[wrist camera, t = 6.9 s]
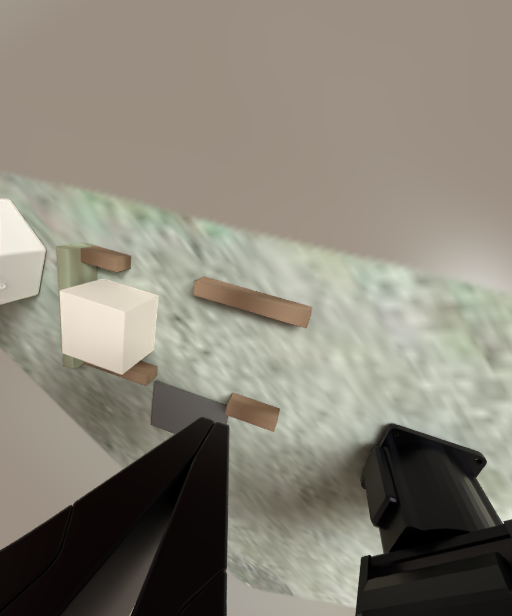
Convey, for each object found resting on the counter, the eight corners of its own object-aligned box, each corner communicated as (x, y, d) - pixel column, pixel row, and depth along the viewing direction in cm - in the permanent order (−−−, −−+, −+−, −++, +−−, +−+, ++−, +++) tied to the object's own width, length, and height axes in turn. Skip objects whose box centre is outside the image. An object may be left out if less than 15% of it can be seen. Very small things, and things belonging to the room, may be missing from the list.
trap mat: (230, 406, 23) (229, 408, 22) (220, 449, 24) (219, 451, 24) (156, 380, 24) (154, 382, 23) (152, 423, 25) (150, 424, 25)
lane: (312, 307, 18) (310, 320, 16) (276, 418, 22) (271, 442, 19) (85, 243, 21) (56, 246, 18) (87, 351, 24) (63, 365, 22)
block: (159, 295, 21) (125, 311, 17) (154, 349, 23) (121, 374, 19) (104, 278, 22) (59, 290, 18) (103, 332, 23) (62, 353, 20)
